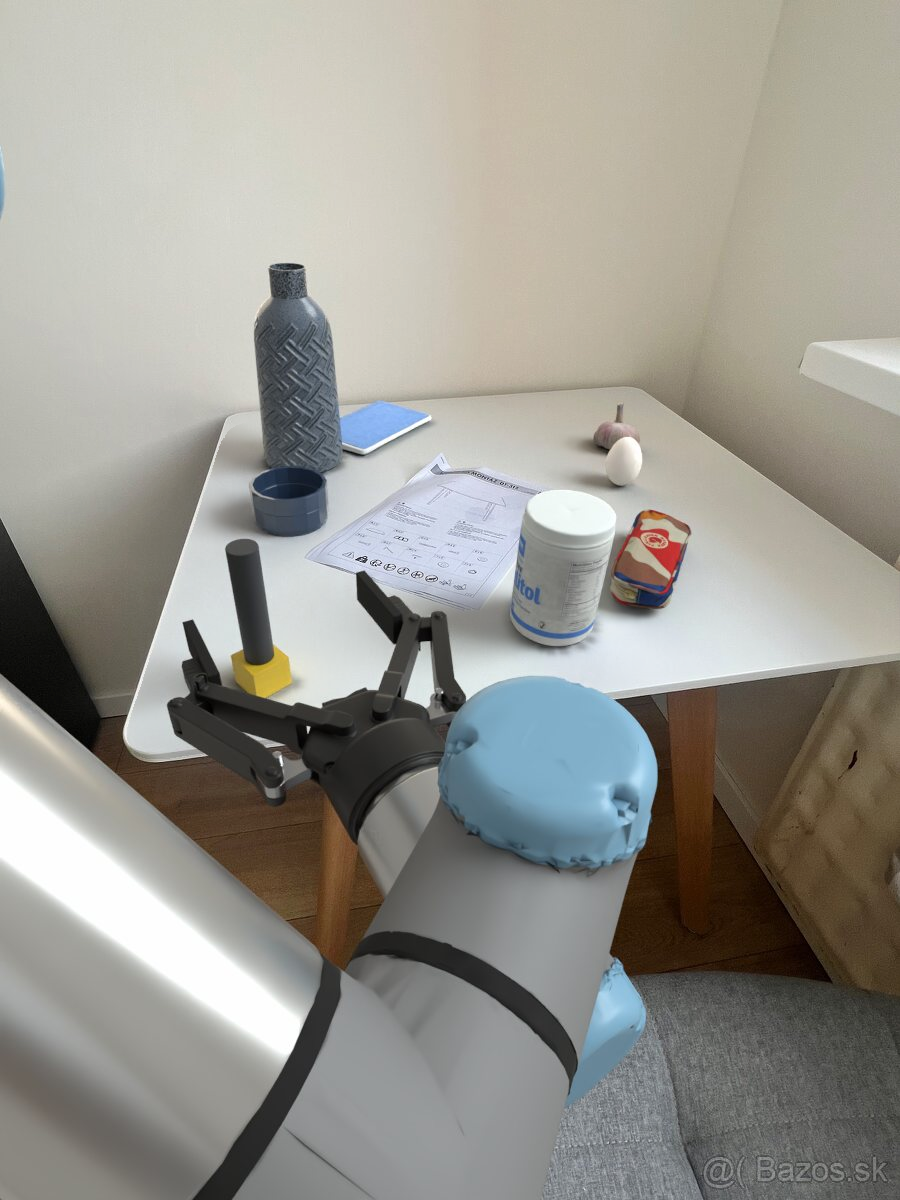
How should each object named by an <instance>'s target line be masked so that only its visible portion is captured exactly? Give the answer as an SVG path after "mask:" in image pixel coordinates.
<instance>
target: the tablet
mask: <svg viewBox="0 0 900 1200" xmlns="http://www.w3.org/2000/svg"><path fill="white" fill-rule="evenodd" d="M432 419H433V418H432V415H430V414H428V413H425V412H421V411H419V410H416V409H415V410H414V409H411V408H409V407H404V406H401V405H398V404H395V403H391V402H387V401H384V400H376V401H375V402H372V403H370V404H367V405H366V406H364V407H361V408H359V409H357V410H355V411H352V412H350V413H348V414H346V415H343V416H342V417H340V426H341V436H342V450H344V451H348V452H350V453H354V454H359V455H363V456H364V455H368V454H370V453H371V452H373V451H374V450H377V449H378V448H380V447H383V445H386V444H387V443H389V442H391V441H393V440H395V439H397V438H398V437H401V436H402V435H404V434H406V433H408V432H410V431H412V430H413V429H416V428H417V427H420V426H422V425H424V424H426V423H428V422H429V421H432Z"/></svg>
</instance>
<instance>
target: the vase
mask: <svg viewBox="0 0 900 1200" xmlns="http://www.w3.org/2000/svg"><path fill="white" fill-rule="evenodd" d="M267 275H268V285H269V296H268V297H267V298H266V299H265V300H264V301H263V302H262V303H261V305H260V306H259V307H258V309H257V312H256V313H255V318H254V324H253V325H254V327H253V343H254V344H253V345H254V356H255V367H256V377H257V378H256V379H257V389H258V401H259V402H258V403H259V413H260V425H261V435H262V447H263V454H264V459H265V461H266V464H267V465H268V466H269V467H270V469H271V468H276V467H283V466H302V467H307V468H311V469H315V470H317V471H318V472H320V473H323V472H327V471H329V470H331V469H333V468H335V467H336V466H338V465H339V464H340V463H341V461H342V458H343V453H344V452H343V450H344V449H342V436H341V426H340V418H341V417H340V405H339V395H338V384H337V374H336V363H335V353H334V352H335V351H334V340H333V334H332V329H331V324H330V320H329V318H328V316H327V313H326V312H325V310H324V308H323V306H322V305H321V304H319V302H317V300H315V299H314V298H313V297H311V296H310V294H309V284H308V272H307V267H306V265H305V264H301V263H295V262H277V263H272V264H269V265H267Z"/></svg>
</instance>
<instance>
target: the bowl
mask: <svg viewBox="0 0 900 1200" xmlns="http://www.w3.org/2000/svg"><path fill="white" fill-rule="evenodd" d="M248 488H249V495H250V496H249V497H250V504H251V510H252V516H253V519H254V521H255V523H256V525H257V527H258V528H259V529H260V530H262V531H263V532H265V533H267V534H269V535H273V536H278V537H299V536H303V535H304V536H305V535H308V534H310V533H313V532H315V531H318V530H320V529H321V528H322V527H323V526H324V525H325V524H326V522H327V520H328V516H329V513H330V505H329V504H330V503H329V489H328V480H327V478H326V476H325V475H324V473H323V472H318V471H317V470H315V469H311V468H307V467H302V466H283V467H276V468H271V467H270V468H269V469H266V470H263V471H260V472H258V473H257V474H255V475H254V476H253V477H252V478H251V479H250V482H249V483H248Z"/></svg>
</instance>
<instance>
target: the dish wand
mask: <svg viewBox="0 0 900 1200" xmlns="http://www.w3.org/2000/svg"><path fill="white" fill-rule="evenodd" d="M224 551H225V557H226V561H227V567H228V573H229V579H230V584H231V585H230V586H231V591H232V596H233V601H234V606H235V612H236V618H237V623H238V629H239V634H240V640H241V645H242V649H241V650H238V651H236V652H234V653H232V654H230V659H231V664H232V670H233V675H234V680H235V683H237V684H238V685H239V686H240V688H242V690H244V692H246V693H249V694H253V695H256V696H259V697H263V698H266V699H267V698H268V697H270V696H271V695H273V694H275V693H278V692H279V691H281V690H283V689H284V688H287V687H288V686H290V685H291V684H293V680H292V673H291V665H290V658H289V656H288V655H287V654H286V653H284V652H283V651H282V650H281V649H280V648H278V647H277V646H276V645H275V644H274V643H273V642H274V641H273V634H272V629H271V623H270V622H271V621H270V614H269V608H268V601H267V594H266V588H265V587H266V586H265V579H264V572H263V566H262V560H261V554H260V546H259V544H258V542H257V541H256V540H254V539H251V538H237V539H234V540H232V541H230V542H228V543H227V544H226V546H225V547H224Z"/></svg>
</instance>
